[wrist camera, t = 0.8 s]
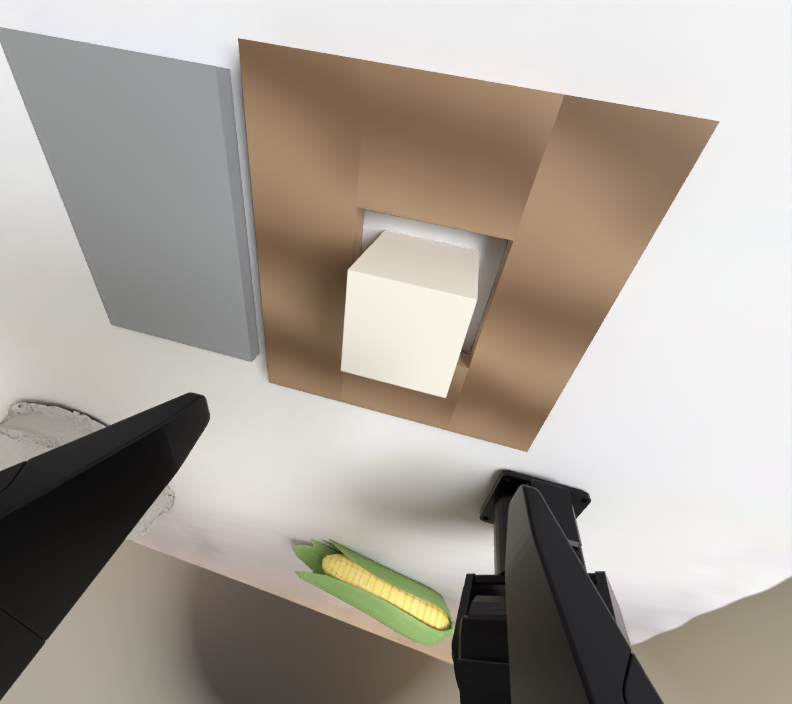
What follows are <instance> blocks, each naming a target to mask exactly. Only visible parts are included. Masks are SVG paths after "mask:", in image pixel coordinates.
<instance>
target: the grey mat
mask: <svg viewBox="0 0 792 704" xmlns="http://www.w3.org/2000/svg"><path fill="white" fill-rule="evenodd" d="M0 43H1V46H2V48H3V51H4V53H5V56H6V58H7V61H8V63H9V66H10V68H11V71H12V74H13V76H14V79H15V81H16V84H17V86H18V89H19V91H20V94H21V96H22V99H23V101H24V104H25V107H26V109H27V112H28V114H29V117H30V119H31V122H32V124H33V127H34V129H35V132H36V135H37V137H38V140H39V142H40V145H41V147H42V150H43V152H44V155H45V157H46V160H47V163H48V165H49V168H50V170H51V173H52V175H53V178H54V180H55V183H56V185H57V188H58V190H59V193H60V196H61V198H62V201H63V203H64V206H65V208H66V211H67V213H68V216H69V218H70V221H71V224H72V226H73V229H74V231H75V234H76V236H77V239H78V241H79V244H80V246H81V249H82V251H83V254H84V257H85V259H86V262H87V264H88V267H89V269H90V272H91V274H92V277H93V279H94V282H95V285H96V287H97V290H98V292H99V295H100V297H101V300H102V302H103V305H104V307H105V310H106V312H107V315H108V318H109V320H110V323H111V325H115V326H119V327H123V328H126V329H130V330H134V331H138V332H141V333H145V334H149V335H153V336H157V337H160V338H164V339H168V340H172V341H175V342H179V343H183V344H187V345H191V346H194V347H198V348H202V349H206V350H209V351H213V352H217V353H221V354H224V355H228V356H232V357H236V358H240V359H243V360H247V361H251V362H252V361H253V360H254V359H255V358H256V357H257V356H258V355H259V346H258V336H257V326H256V317H255V307H254V298H253V288H252V279H251V269H250V259H249V250H248V240H247V231H246V221H245V211H244V202H243V192H242V183H241V173H240V164H239V154H238V144H237V135H236V125H235V116H234V106H233V96H232V87H231V77H230V69H225V68H221V67H216V66H211V65H205V64H200V63H194V62H189V61H183V60H178V59H172V58H167V57H161V56H156V55H150V54H145V53H139V52H134V51H128V50H123V49H117V48H112V47H106V46H101V45H95V44H90V43H84V42H79V41H73V40H68V39H62V38H57V37H51V36H46V35H40V34H35V33H29V32H24V31H18V30H13V29H7V28H2V27H0Z"/></svg>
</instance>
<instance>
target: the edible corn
mask: <svg viewBox="0 0 792 704" xmlns="http://www.w3.org/2000/svg"><path fill="white" fill-rule="evenodd" d="M311 541H312V545H313V546H308V545H304V544H301V545H296V546H293V549H294V551H295V553H296V556H297V557H298V558H300V559H301V560H302V561H303V562H304V563H305V564H306V565H307V566H308V567H309V568H310V569H311V570H312V571H314V572H313V573H309V572H296V571H294V572H295V573H296V574H297V575H298V576H299V577H300V578H301V579H303V580H305V581H307V582H309V583H311V584H313V585H315V586H317V587H318V588H320V589H322V590H324V591H326V592H328V593H330V594H332V595H334V596H336V597H337V598H339V599H341V600H343V601H345V602H346V603H348V604H350V605H352V606H354V607H355V608H357V609H359V610H361V611H362V612H364V613H366V614H368V615H370V616H371V617H373V618H375V619H376V620H378V621H380V622H381V623H383V624H384V625H386V626H388V627H389V628H391V629H393V630H394V631H396V632H398V633H399V634H401V635H403V636H405V637H407V638H408V639H410V640H412V641H414V642H418V643H421V644H425V645H433V644H436V643H438V642H440V641H441V640H443V639H444V638H445V637H446V636H448V635H453V634H454V629H455V623H454V622H453V621H452V620H451V615H450V611H449V609H448V607H447V605H446V603H445V601H444V599H443V597H442V596H441V595H439V594H438V593H437V592H436V591H434V590H432V589H430V588H428V587H426V586H424V585H422V584H420V583H418V582H416V581H414V580H412V579H410V578H408V577H405V576H403V575H401V574H399V573H397V572H395V571H393V570H391V569H389V568H386V567H384V566H382V565H380V564H378V563H376V562H374V561H372V560H370V559H368V558H366V557H364V556H362V555H360V554H358V553H356V552H354V551H352V550H350V549H348V548H346V547H344V546H342V545H340V544H338V543H336V542H334V541H332V540H330V541H331V542H332V543H333V544H334V545H335V546H336V548H337V549H339V550H340V551H341V552H342V553H343V554H342V553H340V552H338V551H336V550H334V549H332V548H330V547H328V546H325V545H323V544H321V543H319V542H317V541H315V540H313V539H311ZM322 541H323V540H322ZM324 542H325V541H324ZM326 543H327V542H326ZM328 544H329V543H328ZM330 545H331V544H330ZM332 546H333V545H332ZM335 546H334V547H335Z"/></svg>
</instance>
